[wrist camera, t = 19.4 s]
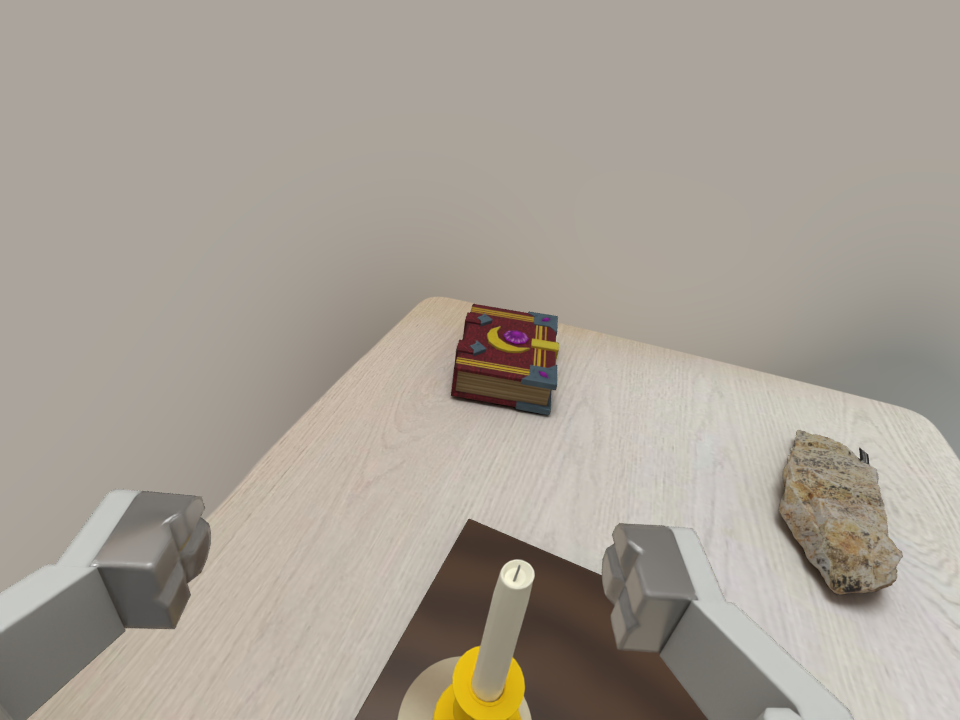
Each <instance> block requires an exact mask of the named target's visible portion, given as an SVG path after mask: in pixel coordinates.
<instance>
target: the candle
mask: <svg viewBox="0 0 960 720" xmlns="http://www.w3.org/2000/svg"><path fill="white" fill-rule="evenodd" d="M534 576H535V574H534V570H533V568H532V566H531V565H530V564H529V563H527V562H526V561H523V560H512V561H509V562H507V563H506V564H505V565H504V566H503V568H502V569H501V572H500V575H499V578H498V581H497V584H496V587H495V590H494V593H493V597H492V601H491V605H490V610H489V614H488V618H487V622H486V626H485V630H484V634H483V638H482V642H481V646H478V647H474V648H472V649H470V650H468V651H467V652H466V653H465V654H464V655H463V656H462V657H460V659H459V661H458V662H457V664H456V666H455V669H454V673H453V676H452V684H451V685H450V686H449V687H448V688H447V689H446V690H445V691H444V692H443V693H442V695H441V697H440V698H439V700H438V702H437V704H436V708H435V711H434V715H433V720H521V716H520V713H519V707H520V705H521V702H522V700H523V697H524V691H525V684H524V677H523V674H522V671H521V668H520V666H519V665H518V663H517V662H516V660H515V659H514V658H513V653H514V650H515V646H516V643H517V639H518V636H519V632H520V629H521V625H522V622H523V619H524V615H525V612H526V608H527V605H528V601H529V597H530V592H531V588H532V583H533V580H534Z"/></svg>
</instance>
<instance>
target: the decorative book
mask: <svg viewBox="0 0 960 720" xmlns="http://www.w3.org/2000/svg"><path fill="white" fill-rule="evenodd" d="M557 322H558V317H557V316H552V315H546V314H540V313H534V312H528V313H524V312H518V311H513V310H507V309H501V308H495V307H489V306H483V305H477V304H473V305H472V309H471V312H470V313H467V316H466V319H465V326H464V334H463V339H462V340H459V343H458V346H457V349H456V357H455V366H454V374H453V383H452V391H451V396H456V397H462V398H468V399H473V400H479V401H485V402H490V403H496V404H502V405H507V406H513V407H516V409H519V410H524V411H530V412H535V413H540V414H546V415H550V411H551V390H556V388H557V365H555V363H556V359H557V355H558V351H559V343H556V335H557Z"/></svg>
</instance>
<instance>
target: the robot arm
mask: <svg viewBox="0 0 960 720" xmlns="http://www.w3.org/2000/svg"><path fill="white" fill-rule="evenodd" d="M204 509H205V506H204V503H203V500H202V497H201V496H192V495H180V494H170V493H159V492H149V491H136V490H123V489H114V490H113V491H111V492H110V493H108V494H107V495H106V496H105V497H104V498H103V500H102V501H101V503H100V504H99V505H98V507H97V508H96V509H95V511H94V512H93V513H92V515H91V516H90V518H89V519H88V521H87V522H86V523H85V524H84V526H83V527H82V529H81V530H80V531H79V533H78V534H77V535H76V537H75V538H74V540H73V541H72V542H71V544H70V545H69V546H68V548H67V549H66V550H65V552H64V553H63V555H62V556H61V557H60V559H59V560H58V561H57V563H56V564H55V565H45V566H43V567H41V568H40V569H38V570H36V571H35V572H33V573H32V574H30V575H28V576H27V577H25V578H23V579H22V580H20V581H18V582H17V583H15V584H14V585H12V586H10V587H9V588H7V589H6V590H4V591H2V592H0V720H27V719H28V718H29V717H30V716H31V715H32V714H33V713H34V712H35V711H37V710H38V709H39V708H40V707H41V706H42V705H43V704H44V703H46V702H47V701H48V700H49V699H50V698H51V697H52V696H53V695H54V694H56V693H57V692H58V691H59V690H60V689H61V688H62V687H63V686H65V685H66V684H67V683H68V682H69V681H70V680H71V679H72V678H74V677H75V676H76V675H77V674H78V673H79V672H80V671H81V670H82V669H84V668H85V667H86V666H87V665H88V664H89V663H90V662H91V661H93V660H94V659H95V658H96V657H97V656H98V655H99V654H100V653H101V652H103V651H104V650H105V649H106V648H107V647H108V646H109V645H110V644H112V643H113V642H114V641H115V640H116V639H117V638H118V637H119V636H120V635H122V634H123V633H124V632H125V628H147V629H175V628H176V625H177V623H178V621H179V619H180V617H181V615H182V613H183V610H184V608H185V606H186V604H187V602H188V600H189V598H190V596H191V594H190V591H189V587H188V584H187V583H189V582H190V581H191V580H192V579H194V578H195V577H196V576H198V575H199V574H200V573H201V572H202V569H203V567H204V565H205V563H206V560H207V557H208V553H209V549H210V545H211V530H210V526H209V523H208V522H206V521H205V520H204V519H203V518H201V515H202V513H203V511H204ZM612 537H613V541H614V544H613V545H611V546H610V547H608V548H607V549H606V551H605V554H604V557H603V561H602V583H603V588H604V593H605V596H606V597H607V598H608V599H609V600H610V601H611V603H612V604H613V605H614V606H615V607H614V609H613V611H612V613H611V616H610V619H611V623H612V628H613V632H614V636H615V640H616V645H617V649H618V650H626V651H639V652H653V653H660V655H659V656H660V657H661V658H662V659H663V661H664V662H665V663H666V665H667V666H668V667H669V669H670V670H671V671H672V673H673V674H674V675H675V677H676V678H677V679H678V681H679V682H680V683H681V685H682V686H683V687H684V688H685V690H686V691H687V692H688V694H689V695H690V696H691V698H692V699H693V700H694V702H695V703H696V704H697V706H698V707H699V708H700V710H701V711H702V712H703V714H704V715H705V716H706V717H707V719H708V720H854V718H853V716H852V714H851V713H850V711H849V709H848V708H847V707H846V706H845V705H844V704H843V703H842V702H840V701H839V700H838V699H837V698H836V697H835V696H834V695H833V694H832V693H831V692H830V691H829V690H828V689H826V688H825V687H824V686H823V685H822V684H821V683H820V682H819V681H818V680H817V679H816V678H815V677H813V676H812V675H811V674H810V673H809V672H808V671H807V670H806V669H805V668H804V667H803V666H802V665H801V664H799V663H798V662H797V661H796V660H795V659H794V658H793V657H792V656H791V655H790V654H789V653H788V652H786V651H785V650H784V649H783V648H782V647H781V646H780V645H779V644H778V643H777V642H776V641H775V640H774V639H772V638H771V637H770V636H769V635H768V634H767V633H766V632H765V631H764V630H763V629H762V628H761V627H759V626H758V625H757V624H756V623H755V622H754V621H753V620H752V619H751V618H750V617H749V616H748V615H747V614H745V613H744V612H743V611H742V610H741V609H740V608H739V607H738V606H737V605H736V604H735V603H730V602H726V600H725V597H724V595H723V593H722V590H721V588H720V586H719V583H718V581H717V579H716V577H715V574H714V572H713V570H712V567H711V565H710V563H709V560H708V558H707V556H706V554H705V551H704V549H703V547H702V544H701V542H700V540H699V537H698V535H697V533H696V532H695V531H694V530H693V529H692V528H685V527H669V526H667V527H666V526H662V525H643V524H624V523H619V524H618V525H617V526H616V527H615V529H614V531H613V534H612Z"/></svg>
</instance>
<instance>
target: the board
mask: <svg viewBox="0 0 960 720" xmlns="http://www.w3.org/2000/svg"><path fill="white" fill-rule="evenodd" d="M512 560H523V561H526V562H527V563H529V564H530V565H531V566H532V568H533V570H534V574H535V576H534V580H533V583H532V588H531V592H530V597H529V601H528V605H527V608H526V612H525V615H524V619H523V622H522V625H521V629H520V632H519V636H518V639H517V643H516V646H515V650H514V653H513V658H514V659H515V660H516V662H517V663H518V665H519V666H520V668H521V671H522V674H523V677H524V684H525V691H524V697H523V700H522V702H521V705H520V707H519V713H520V716H521V720H708V719H707V717H706V716H705V715H704V714H703V712H702V711H701V710H700V708H699V707H698V706H697V704H696V703H695V702H694V700H693V699H692V698H691V696H690V695H689V694H688V692H687V691H686V690H685V688H684V687H683V686H682V685H681V683H680V682H679V681H678V679H677V678H676V677H675V675H674V674H673V673H672V671H671V670H670V669H669V667H668V666H667V665H666V663H665V662H664V661H663V659H662V658H661V657H660V656H659V655H660V653H653V652H639V651H626V650H618V649H617V645H616V640H615V636H614V632H613V628H612V623H611V619H610V616H611V613H612V611H613V609H614V607H615V606H614V605H613V604H612V603H611V601H610V600H609V599H608V598H607V597H606V596H605V593H604V588H603V583H602V575H600V574H597V573H595V572H593V571H590V570H588V569H586V568H583V567H581V566H579V565H576V564H574V563H572V562H569V561H567V560H565V559H562V558H560V557H558V556H555V555H553V554H551V553H548V552H546V551H544V550H541V549H539V548H537V547H534V546H532V545H530V544H527V543H525V542H523V541H520V540H518V539H516V538H513V537H511V536H509V535H506V534H504V533H502V532H499V531H497V530H495V529H492V528H490V527H488V526H485V525H483V524H481V523H478V522H476V521H474V520H471V519H468V521H467V523H466V524H465V526H464V528H463V530H462V531H461V533H460V535H459V537H458V538H457V540H456V542H455V544H454V545H453V547H452V549H451V551H450V552H449V554H448V556H447V558H446V560H445V561H444V563H443V565H442V567H441V568H440V570H439V572H438V574H437V575H436V577H435V579H434V581H433V582H432V584H431V586H430V588H429V589H428V591H427V593H426V595H425V597H424V598H423V600H422V602H421V604H420V605H419V607H418V609H417V611H416V612H415V614H414V616H413V618H412V619H411V621H410V623H409V625H408V627H407V628H406V630H405V632H404V634H403V635H402V637H401V639H400V641H399V642H398V644H397V646H396V648H395V649H394V651H393V653H392V655H391V656H390V658H389V660H388V662H387V664H386V665H385V667H384V669H383V671H382V672H381V674H380V676H379V678H378V679H377V681H376V683H375V685H374V686H373V688H372V690H371V692H370V693H369V695H368V697H367V699H366V701H365V702H364V704H363V706H362V708H361V709H360V711H359V713H358V715H357V716H356V718H355V720H433V715H434V711H435V708H436V704H437V702H438V700H439V698H440V697H441V695H442V693H443V692H444V691H445V690H446V689H447V688H448V687H449V686H450V685H451V684H452V676H453V673H454V669H455V666H456V664H457V662H458V661H459V659H460V657H462V656H463V655H464V654H465V653H466V652H467V651H468V650H470V649H472V648H474V647H478V646H481V642H482V638H483V634H484V630H485V626H486V622H487V618H488V614H489V610H490V605H491V601H492V597H493V593H494V590H495V587H496V584H497V581H498V578H499V575H500V572H501V569H502V568H503V566H504V565H505V564H506V563H507V562H509V561H512Z"/></svg>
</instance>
